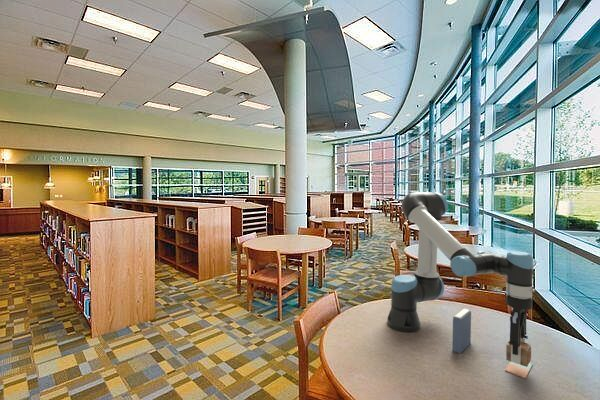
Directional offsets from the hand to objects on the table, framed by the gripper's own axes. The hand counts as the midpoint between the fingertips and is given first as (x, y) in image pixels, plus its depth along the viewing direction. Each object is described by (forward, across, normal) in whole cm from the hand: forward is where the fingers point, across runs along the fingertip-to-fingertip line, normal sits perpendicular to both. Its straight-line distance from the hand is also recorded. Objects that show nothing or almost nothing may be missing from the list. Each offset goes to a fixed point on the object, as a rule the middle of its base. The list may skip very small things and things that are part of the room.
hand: (517, 358), depth 105 cm
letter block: (0, 0, 0) cm, 0 cm away
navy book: (+4, +3, +20) cm, 20 cm away
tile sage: (+5, +6, 0) cm, 8 cm away
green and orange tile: (+5, 0, 0) cm, 5 cm away
